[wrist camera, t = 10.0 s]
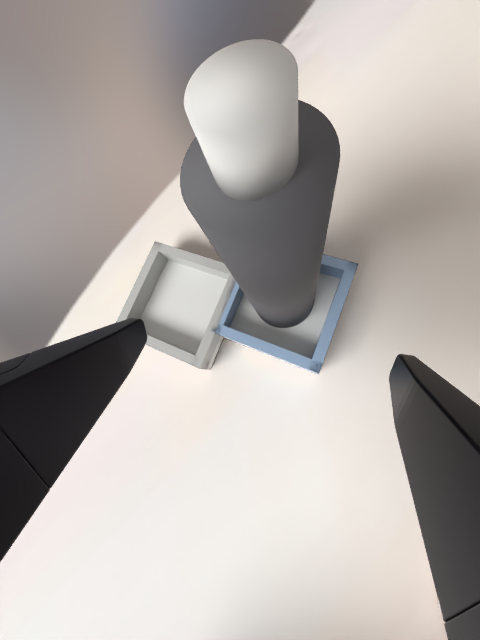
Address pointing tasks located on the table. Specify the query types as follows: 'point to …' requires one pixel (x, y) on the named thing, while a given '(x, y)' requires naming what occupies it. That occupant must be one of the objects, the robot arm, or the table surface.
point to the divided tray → (228, 310)
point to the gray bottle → (261, 175)
